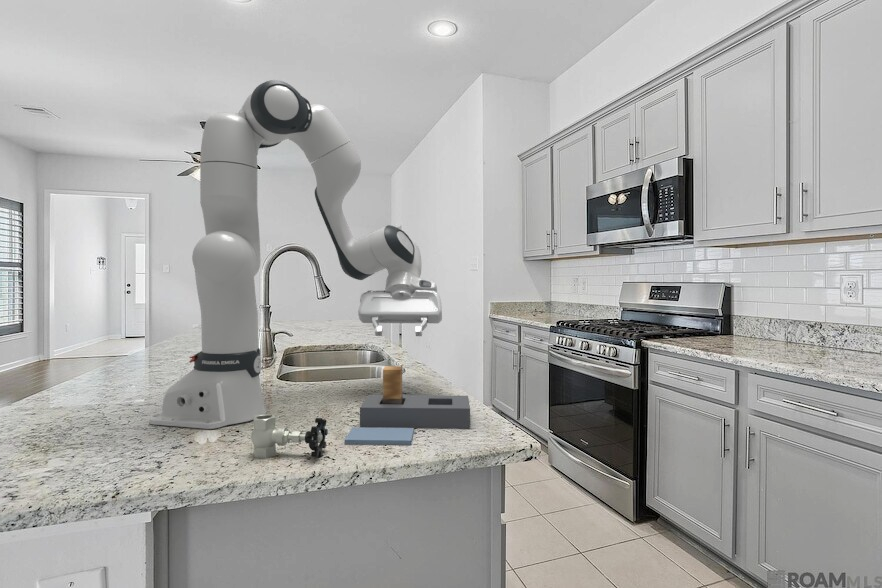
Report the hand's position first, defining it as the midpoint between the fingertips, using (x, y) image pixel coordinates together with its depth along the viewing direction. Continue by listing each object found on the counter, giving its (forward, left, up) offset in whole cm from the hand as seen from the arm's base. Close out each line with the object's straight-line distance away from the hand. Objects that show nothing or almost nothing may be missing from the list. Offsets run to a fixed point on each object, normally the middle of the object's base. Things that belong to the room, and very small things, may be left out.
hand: (398, 334), depth 111 cm
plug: (0, -12, -17) cm, 20 cm away
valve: (-16, -32, -17) cm, 39 cm away
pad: (-1, -23, -16) cm, 28 cm away
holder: (+5, -12, -16) cm, 21 cm away
